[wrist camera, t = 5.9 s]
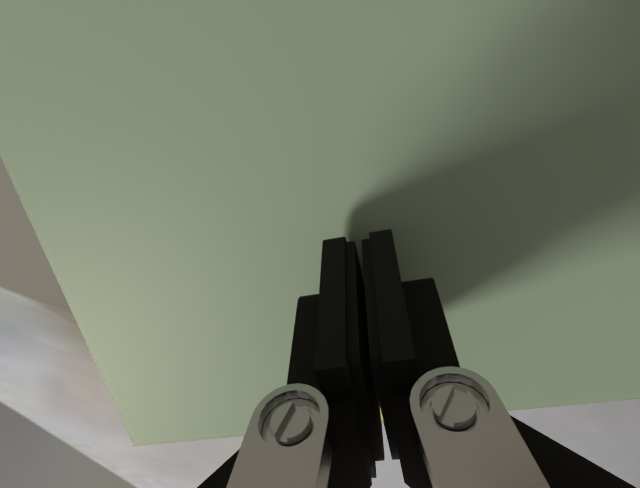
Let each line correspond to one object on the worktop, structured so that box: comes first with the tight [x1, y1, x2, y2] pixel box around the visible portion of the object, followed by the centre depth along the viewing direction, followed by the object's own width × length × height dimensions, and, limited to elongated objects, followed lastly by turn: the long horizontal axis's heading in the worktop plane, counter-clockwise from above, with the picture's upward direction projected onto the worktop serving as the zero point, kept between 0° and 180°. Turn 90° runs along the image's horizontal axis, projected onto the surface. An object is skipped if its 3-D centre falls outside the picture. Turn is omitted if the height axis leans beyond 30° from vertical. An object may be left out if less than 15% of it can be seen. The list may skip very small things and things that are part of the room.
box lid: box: [0, 0, 640, 446], centre depth 10 cm, size 16×17×2 cm
